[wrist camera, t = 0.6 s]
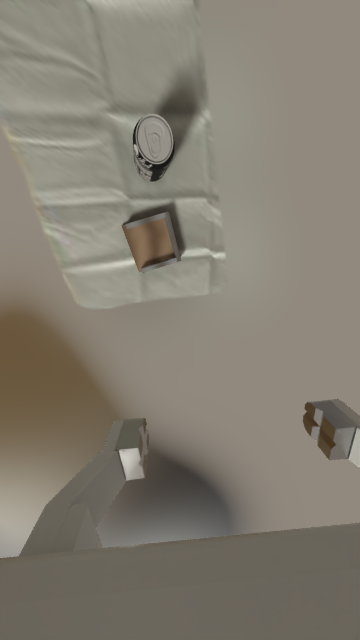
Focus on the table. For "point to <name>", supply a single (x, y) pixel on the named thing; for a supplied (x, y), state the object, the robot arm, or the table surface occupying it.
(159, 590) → the robot arm
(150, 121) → the beverage can
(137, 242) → the brown flat square tray
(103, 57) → the table surface
